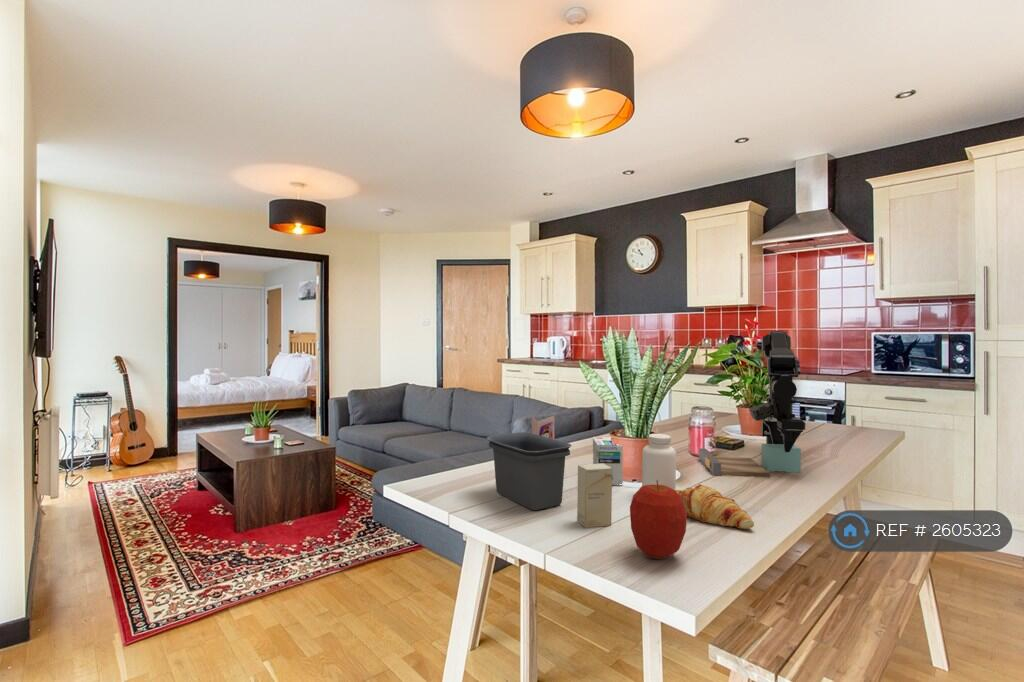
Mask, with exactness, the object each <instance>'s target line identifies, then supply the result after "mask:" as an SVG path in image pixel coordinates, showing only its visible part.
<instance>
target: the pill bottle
mask: <svg viewBox="0 0 1024 682" xmlns="http://www.w3.org/2000/svg"><path fill="white" fill-rule="evenodd" d="M671 443H672V437H671V435H669V434H664V433H651V434H650V433H649V435H648V444H647V445H645V446H644V447H643V449H642V463H641V464H642V465H641V467H642V468H641V487H642V486H645V485H657V482H656V481H657V480H658V485H664V486H667V487H669V488H672V489H674V490H676V483H677V482H676V478H677V477H676V473H677V452H676V450H675V448H673V447H672V446H671Z"/></svg>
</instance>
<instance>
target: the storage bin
mask: <svg viewBox="0 0 1024 682" xmlns="http://www.w3.org/2000/svg"><path fill="white" fill-rule="evenodd" d="M486 439H487V440H488V441H489V442H488V447H489V448H491V449H492V453H493V463H494V472H495V473H494V475H495V476H494V477H495V488H496V493H497V492H498V494H499V493H500V494H499V495H501V496H503V497H505V498H508V499H509V500H511V501H513V502H515V503H517V504H519V505H522V506H523V507H526V508H527V509H529V510H531V511H532V510H533V511H539V510H543V509H547V508H552V507H556V506H559V505H561V504H562V503H563V492H564V479H565V467H566V466H565V464H566V457H568V456H570V455H571V450H570V448H571V447H572V446H573V444H571V443H569V442H565V441H563V440H559V439H555V438H554V439H552V438H548V437H545V436H541V435H537V434H534V433H532V432H527V431H526V432H525V431H523V432H521V431H520V432H511V433H503V434H494V435H493V434H492V435H489V436H487V438H486Z"/></svg>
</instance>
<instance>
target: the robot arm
mask: <svg viewBox="0 0 1024 682" xmlns="http://www.w3.org/2000/svg"><path fill="white" fill-rule="evenodd" d="M787 333H788V332H787V331H785V330H771V331H769V332H768V334H766V335H764V336H762V340H761V351H762V352H763V358H764V359H765V360H766V362H767V363H766V366H767V367H766V368H767V377H768V378H769V382H768V384H769V388H768V389H769V390H768V392H769V397H767V400H766V402H765V403H761V404H758V405H755V406H752V407H749V408H748V411H749V413H750V415H751V418H752V419H753V420H754V421H756V422H759V421H761V436H762V437H765V439H766V440H765V441H766V442H765V444H784V449H785V452H790V450H791V448H792V447H793V445H795V443H796V442H797V440H798V439H799V436H800V435H801V434H802V433H803V432H804V431H805V430H806V422H805V421H804V420H803V419H801V418H799V417H796V414H795V413H793V410H794V409H793V407H794V406H793V404H796V399H794V397H795V396H796V394H797V391H798V389H797V386H796V384H795V383H794V380H793V378H799V375H801V366H800V360H799V358H798V356H796V355H795V353H794V350H792V349H791V348H792V341H791V340H792V339H791V336H790V335H788V334H787Z"/></svg>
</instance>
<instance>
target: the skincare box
mask: <svg viewBox="0 0 1024 682" xmlns="http://www.w3.org/2000/svg"><path fill="white" fill-rule="evenodd" d="M612 490H613V485H612V468H611V467H609V466H607V465H606V464H604V463H600V464H593V463H588V464H578V465H577V504H576V505H577V510H576V511H577V513H576V514H577V516H576V518H577V519H576V520H577V522H578V523H579V524H580V525H581V526H583V527H584V528H587V529H588V528H598V527H609V526H612V512H613V511H612V509H613V508H612V506H613V505H612V501H613V498H612V497H613V492H612Z"/></svg>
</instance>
